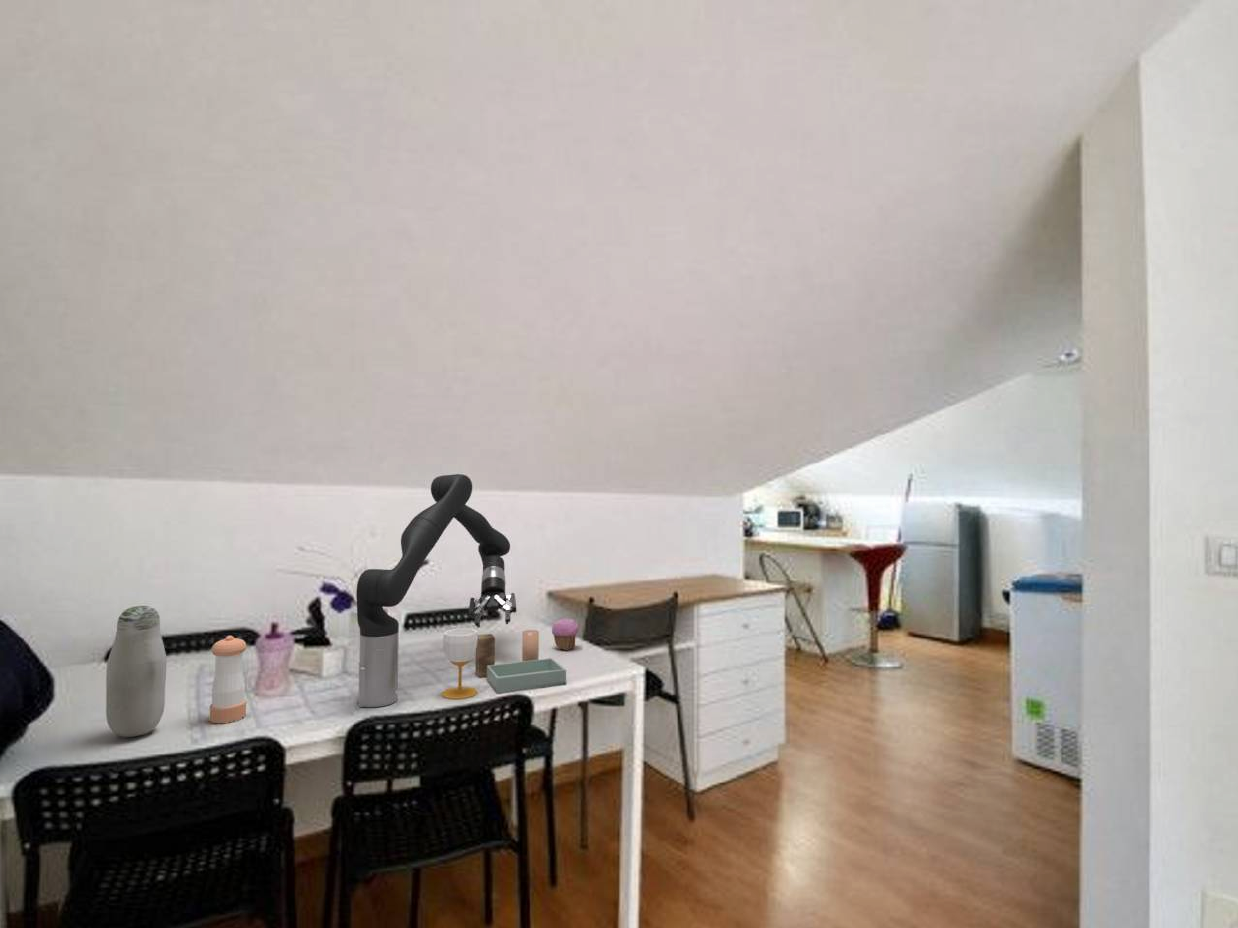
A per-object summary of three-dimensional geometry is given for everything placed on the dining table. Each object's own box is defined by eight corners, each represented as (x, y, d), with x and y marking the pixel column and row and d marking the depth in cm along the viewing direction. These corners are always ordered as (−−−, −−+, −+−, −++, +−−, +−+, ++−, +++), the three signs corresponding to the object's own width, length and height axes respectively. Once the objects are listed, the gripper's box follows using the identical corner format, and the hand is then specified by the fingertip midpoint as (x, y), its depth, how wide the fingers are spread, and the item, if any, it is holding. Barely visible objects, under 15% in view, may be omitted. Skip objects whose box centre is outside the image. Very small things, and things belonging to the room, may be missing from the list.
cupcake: (583, 647, 213) (583, 617, 214) (569, 653, 206) (569, 622, 206) (560, 644, 218) (561, 614, 218) (546, 650, 210) (546, 619, 210)
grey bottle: (93, 742, 136) (96, 610, 136) (137, 723, 146) (140, 600, 146) (134, 745, 134) (137, 612, 135) (175, 726, 144) (177, 602, 145)
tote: (497, 693, 168) (497, 678, 168) (486, 679, 179) (486, 665, 179) (565, 684, 176) (566, 669, 176) (551, 671, 187) (551, 658, 187)
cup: (440, 689, 171) (441, 629, 171) (474, 686, 174) (475, 626, 174) (443, 700, 162) (444, 637, 162) (479, 696, 165) (480, 634, 166)
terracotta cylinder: (524, 672, 186) (525, 634, 186) (520, 667, 190) (520, 630, 191) (540, 670, 188) (540, 633, 188) (535, 666, 192) (536, 629, 193)
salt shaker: (206, 717, 150) (207, 635, 150) (241, 709, 155) (242, 630, 155) (213, 726, 144) (215, 641, 145) (249, 718, 150) (251, 636, 150)
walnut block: (478, 677, 181) (479, 639, 181) (475, 673, 185) (475, 635, 185) (494, 676, 183) (494, 637, 183) (490, 671, 187) (491, 633, 187)
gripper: (469, 578, 202) (466, 619, 189) (514, 573, 203) (514, 613, 190) (472, 594, 206) (470, 635, 193) (517, 589, 208) (517, 629, 195)
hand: (492, 624), depth 192 cm, fingers open, 8 cm apart
